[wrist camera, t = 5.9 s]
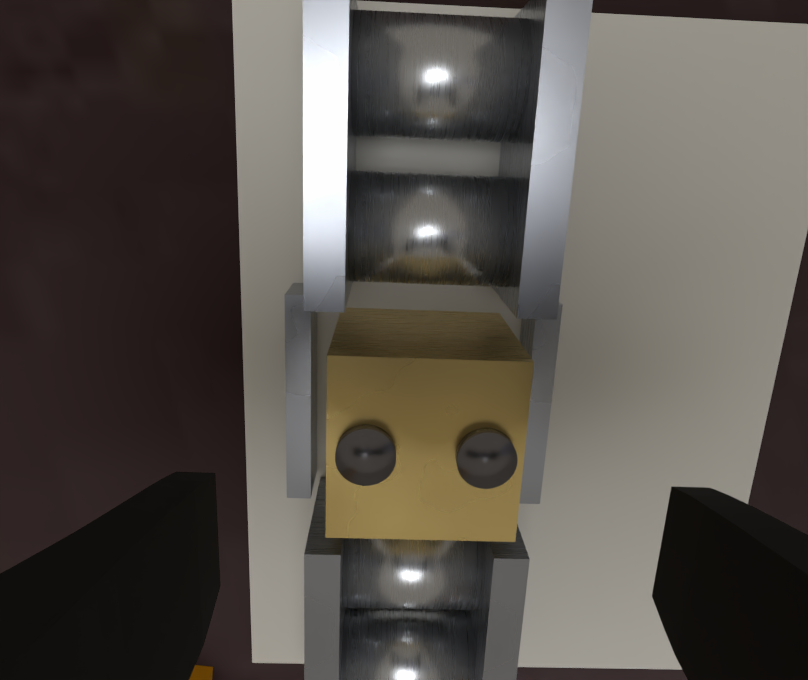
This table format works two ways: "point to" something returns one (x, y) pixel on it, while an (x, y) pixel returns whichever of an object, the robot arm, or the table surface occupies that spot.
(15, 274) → the table surface
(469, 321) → the tan knob cube
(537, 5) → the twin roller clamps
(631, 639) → the mat
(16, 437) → the table surface
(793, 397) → the table surface
